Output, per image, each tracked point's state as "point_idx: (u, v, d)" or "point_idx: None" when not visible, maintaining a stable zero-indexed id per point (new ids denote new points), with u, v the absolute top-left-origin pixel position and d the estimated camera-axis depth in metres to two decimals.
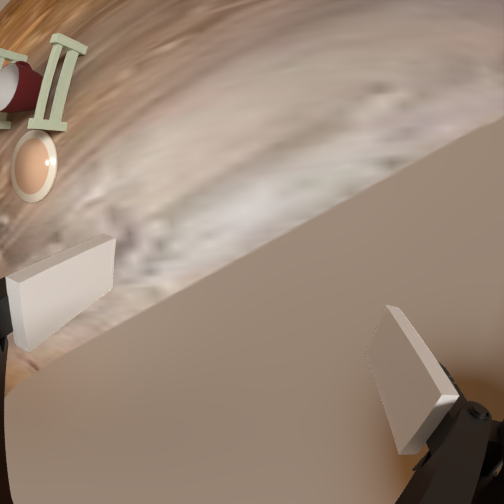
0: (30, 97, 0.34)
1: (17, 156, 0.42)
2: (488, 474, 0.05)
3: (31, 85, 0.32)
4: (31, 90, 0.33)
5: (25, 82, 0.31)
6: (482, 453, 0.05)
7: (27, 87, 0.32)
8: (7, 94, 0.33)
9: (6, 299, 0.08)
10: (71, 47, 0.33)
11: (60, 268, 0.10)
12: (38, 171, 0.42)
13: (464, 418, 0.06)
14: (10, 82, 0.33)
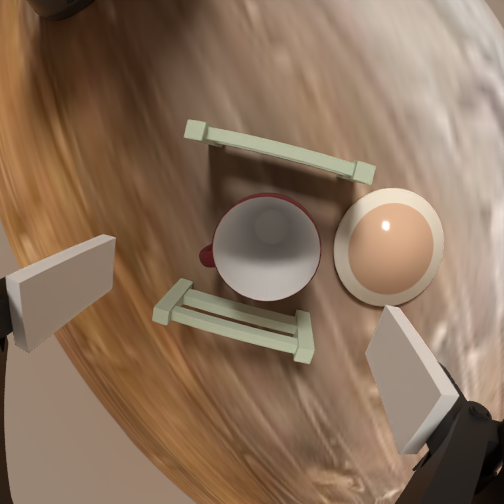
0: None
1: (368, 285, 0.32)
2: (488, 473, 0.05)
3: None
4: None
5: (272, 193, 0.23)
6: (482, 453, 0.05)
7: None
8: (265, 279, 0.27)
9: (6, 299, 0.08)
10: None
11: (60, 268, 0.10)
12: (405, 231, 0.30)
13: (464, 418, 0.06)
14: (242, 271, 0.27)
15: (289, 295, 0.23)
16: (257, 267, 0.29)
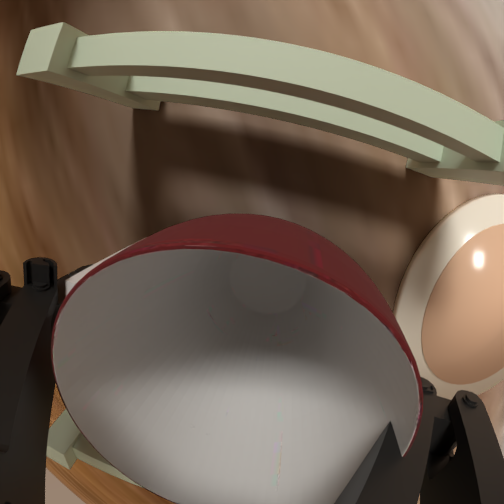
0: None
1: (445, 375, 0.14)
2: (443, 454, 0.07)
3: (263, 215, 0.07)
4: None
5: (240, 221, 0.06)
6: (429, 427, 0.06)
7: (281, 223, 0.06)
8: (242, 426, 0.10)
9: None
10: None
11: None
12: None
13: None
14: (184, 408, 0.10)
15: None
16: (228, 385, 0.11)
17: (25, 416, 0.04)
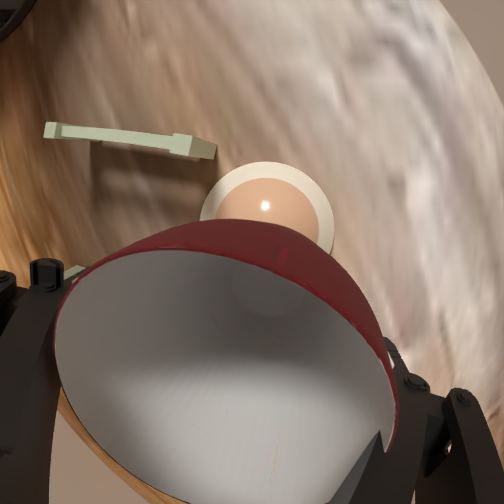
0: (317, 245, 0.08)
1: None
2: (438, 452, 0.07)
3: None
4: (279, 226, 0.08)
5: (218, 225, 0.06)
6: (423, 424, 0.06)
7: (259, 225, 0.07)
8: (241, 425, 0.10)
9: None
10: (79, 125, 0.25)
11: None
12: (278, 208, 0.29)
13: (399, 390, 0.07)
14: (185, 407, 0.10)
15: None
16: (229, 385, 0.12)
17: (30, 417, 0.04)
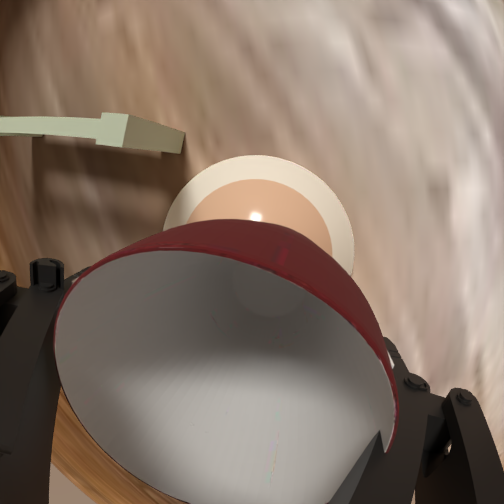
0: (317, 245, 0.08)
1: None
2: (438, 452, 0.07)
3: None
4: (279, 226, 0.08)
5: (218, 226, 0.06)
6: (423, 424, 0.06)
7: (259, 226, 0.07)
8: (241, 425, 0.10)
9: None
10: None
11: None
12: None
13: (399, 390, 0.07)
14: (185, 407, 0.10)
15: None
16: (229, 385, 0.12)
17: (30, 418, 0.04)
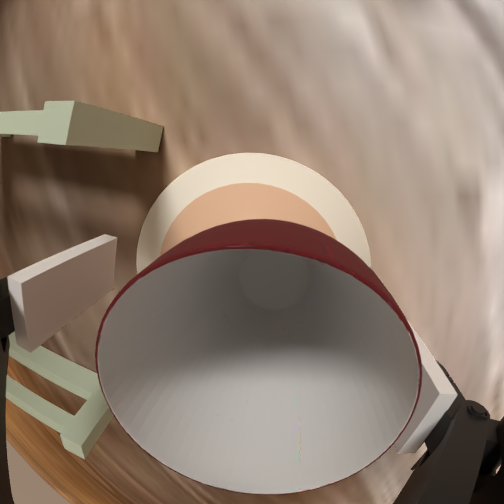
0: None
1: None
2: (487, 473, 0.05)
3: None
4: None
5: (261, 226, 0.07)
6: (480, 452, 0.05)
7: (293, 225, 0.07)
8: (262, 412, 0.11)
9: (8, 299, 0.08)
10: None
11: (62, 268, 0.10)
12: None
13: (462, 417, 0.06)
14: (208, 399, 0.11)
15: (319, 484, 0.07)
16: (245, 376, 0.13)
17: None
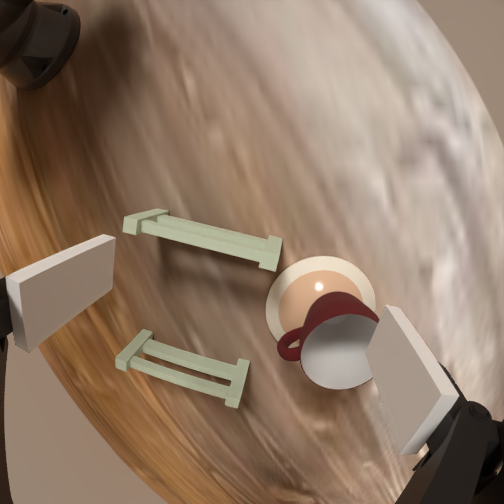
0: None
1: None
2: (488, 473, 0.05)
3: (348, 299, 0.27)
4: (355, 300, 0.27)
5: (349, 305, 0.25)
6: (482, 453, 0.05)
7: (355, 303, 0.26)
8: (336, 364, 0.29)
9: (6, 299, 0.08)
10: (152, 214, 0.31)
11: (60, 268, 0.10)
12: None
13: (464, 418, 0.06)
14: (317, 360, 0.29)
15: (361, 383, 0.25)
16: (326, 352, 0.31)
17: None
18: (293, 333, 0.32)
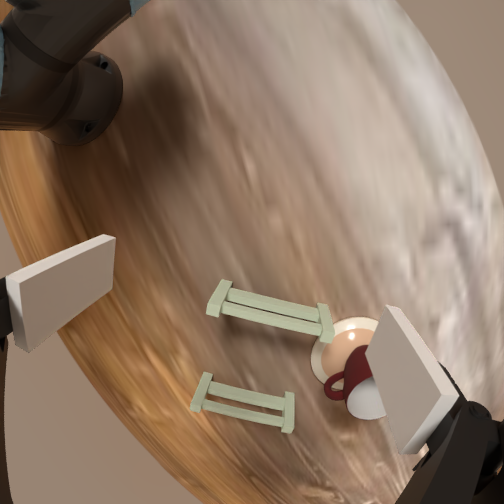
0: None
1: None
2: (488, 473, 0.05)
3: None
4: None
5: None
6: (482, 453, 0.05)
7: None
8: (366, 399, 0.37)
9: (6, 299, 0.08)
10: (225, 292, 0.38)
11: (60, 268, 0.10)
12: None
13: (464, 418, 0.06)
14: (353, 398, 0.37)
15: None
16: (359, 390, 0.39)
17: None
18: (334, 377, 0.40)
